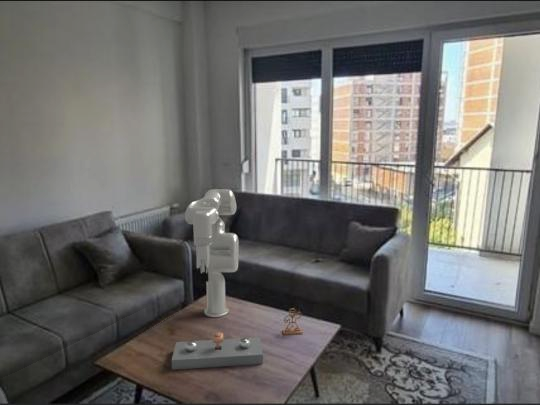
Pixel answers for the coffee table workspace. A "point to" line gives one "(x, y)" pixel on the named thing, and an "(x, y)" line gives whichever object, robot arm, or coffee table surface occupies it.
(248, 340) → the knob
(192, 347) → the knob
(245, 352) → the knob panel
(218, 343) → the knob middle
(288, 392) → the coffee table surface
